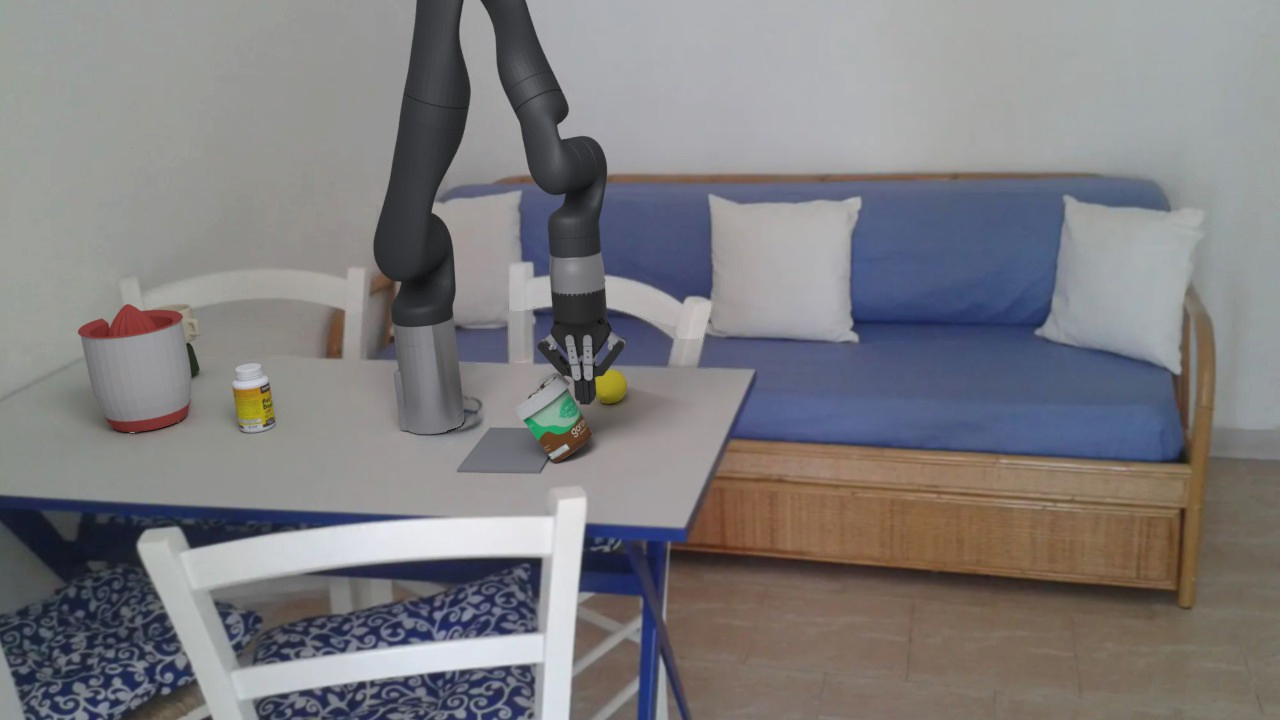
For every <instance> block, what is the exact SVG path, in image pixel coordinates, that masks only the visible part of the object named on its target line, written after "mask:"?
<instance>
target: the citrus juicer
mask: <svg viewBox="0 0 1280 720" xmlns="http://www.w3.org/2000/svg"><path fill="white" fill-rule="evenodd" d="M182 319H183V315H182V314H181V313H179V312H176V311H171V310H152V309H148V310H146V309H145V310H140V309H138V308H137V307H135V306H134V305H133V304H129V303H126V304H125V305H123V306H122V307H121V309H120V310H119V311H118V312H117V314H116V315H115V317H114V319H113V320H112V322H111V324H109V322H108V321H107V320H105V319H103V318H98V319H95V320H93V321H90V322H87V323H85V324H83V325H82V326H81V327H79V329H78V331H77V334H78V335H79V336H80V339H81V343H82V348H83V349H82V350H83V354H84V357H85V358H84V359H85V363H86V368H87V373H88V376H89V381H90V385H91V389H92V392H93V395H94V396H95V397H94V398H95V399H96V401H97V403H98V407H99V408H100V409H101V411H102V413H103V415H104V418H105V419H106V421H107V423H108V424H109V425H110V426H111V428H112V429H114V430H116V431H118V432H123V433H124V432H126V433H129V432H138V433H140V432H139V431H141V432H147V431H152V430H153V431H154V430H157V429H161V428H164V427H168V426H171V425H173V424H177V423H176V422H178V421H180V422H181V420H182V421H183V420H184V419H185V418H186V417H187V415H188V412H189V410H190V405H191V394H192V376H191V369H190V362H189V356H188V351H187V346H186V340H185V335H184V330H183V324H182ZM178 423H179V422H178Z"/></svg>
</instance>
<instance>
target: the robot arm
mask: <svg viewBox="0 0 1280 720" xmlns="http://www.w3.org/2000/svg"><path fill="white" fill-rule="evenodd" d="M464 1H465V0H416V3H415V15H414V25H413V32H412V39H411V46H410V48H411V49H410V53H409V62H408V69H407V74H406V79H405V84H404V89H403V95H402V100H401V107H400V110H399V111H400V114H399V121H398V127H397V128H398V129H397V134H396V141H395V146H394V151H393V157H392V162H391V168H390V169H391V170H390V175H389V180H388V185H387V190H386V193H385V197H384V199H383V200H384V201H383V204H382V207H381V211H380V214H379V218H378V222H377V224H376V228H375V232H374V237H373V242H372V243H373V245H372V247H373V248H372V250H373V258H374V261H375V264H376V265H377V267H378V269H379V271H380V272H381V273H382V274H383V276H384V277H385V278H387V279H389V280H391V281H393V282H398V283H400V286H399V290H398V292H397V294H396V296H395V297H394V299H393V300H392V303H391V305H390V315H391V322H392V328H393V329H392V330H393V336H394V345H395V352H396V353H395V354H396V360H397V367H398V368H397V369H396V370H395V371H394V372H393V376H394V377H393V380H394V385H395V386H394V387H395V393H396V401H397V402H396V403H397V409H398V416H399V426H400V431H407V432H409V433H413V434H417V435H436V434H442V433H447V430H450V429H453V428H454V427H456V426H458V425H460V424H461V423H463V421H464V419H465V418H464V417H465V407H464V400H463V391H462V383H461V382H462V381H461V371H460V364H459V363H460V361H459V355H458V354H459V353H458V348H457V347H458V345H457V343H458V342H457V337H456V336H457V335H456V328H455V327H456V326H455V317H454V309H453V308H454V301H455V298H456V292H457V289H456V288H457V287H456V286H457V285H456V284H457V283H456V269H455V256H454V245H453V244H454V243H453V241H452V237H451V236H452V235H451V233H450V231H449V229H448V226H447V225H446V223H445V222H444V220H443V219H442V218H441V217H440V216H438V215H437V214H435V213H433V207H434V202H435V198H436V195H437V192H438V190H439V188H440V185H441V183H442V182H443V180H444V177H445V176H446V174H447V172H448V170H449V168H450V166H451V165H452V162H453V160H454V158H455V157H456V155H457V152H458V151H459V148H460V146H461V143H462V140H463V138H464V134H465V130H466V124H467V120H468V114H469V111H470V110H469V109H470V103H471V95H472V92H471V90H472V89H471V88H472V87H471V82H470V77H469V72H468V67H467V64H466V61H465V58H464V53H463V50H462V45H461V37H460V33H461V32H460V28H461V27H460V26H461V18H462V12H463V8H464V7H463V5H464ZM479 1H480V2H481V4H482V5H483V7H484V9H485V10H486V12H487V15H488V16H489V19H490V21H491V24H492V27H493V32H494V38H495V56H496V57H495V58H496V59H495V60H496V68H497V73H498V74H497V75H498V77H499V80H500V84H501V86H502V90H503V91H504V93H505V95H506V98H507V100H508V102H509V104H510V106H511V108H512V110H513V113H514V115H515V117H516V118H517V120H518V122H519V126H520V131H521V136H522V137H521V138H522V142H523V147H524V152H525V157H526V162H527V167H528V170H529V173H530V175H531V178H532V179H533V181H534V183H535V184H536V185H537V186H538V187H539V188H540V189H541V191H543V192H544V193H546V194H549V195H553V196H559V195H560V196H561V195H564V200H563V203H562V205H561V206H560V207H559V208H558V209H557V210H555V211H553V212H552V213H551V214H550V215H549V216H548V219H547V234H548V246H549V247H548V248H549V281H550V282H549V284H550V296H551V308H552V319H553V323H552V326H551V329H550V334H549V335H548V336H546V337H543V338H542V339H541V340H540V341H539V343H538V344H537V349H538V350H539V351H540V353H541V354H542V355H543V356H544V357H545V359H546V360H547V361H548V362H549V363H550V364H551V365H552V366H553V368H554V369H555V370H556V371H557V372H558V373H559V374H560V375H562V376H564V377H569V378H571V379H572V380H573V390H574V399H575V401H577V402H579V406H580V405H581V406H582V405H584V406H585V405H588V406H590V405H591V404H592V402H593V401H594V400H595V399H596V398H597V397H596V381H595V379H596V377H598V376H603V375H604V374H605V373H606V371H607V370H610V369H609V368H611V366H612V365H613V363H614V362H615V360H616V359H617V358H618V357H619V356H620V354H621V353H622V351H623V350H624V348H625V346H626V345H627V339H626V338H625V337H620V336H618V335H617V334H616V333H614V332H612V331H613V329H612V326H611V324H610V322H609V320H608V319H609V318H608V311H607V309H608V307H607V293H606V291H607V290H606V273H605V266H604V261H603V260H604V259H603V256H602V246H601V233H600V232H601V230H600V218H601V214H602V213H601V212H602V209H603V204H604V197H605V192H606V186H607V180H608V179H607V178H608V163H607V158H606V155H605V152H604V150H603V147H602V146H601V145H600V143H599V142H598V140H596V139H594V138H593V137H591V136H586V135H578V136H572V137H568V138H563V139H562V138H561V136H560V133H559V129H558V127H559V126H558V125H559V124H561V123H562V122H564V121H565V119H566V118H567V117H568V115H569V111H570V107H569V103H568V100H567V98H566V96H565V93H564V92H563V90H562V88H561V85H560V83H559V82H558V79H557V78H556V75H555V74H554V71H553V69H552V66H551V64H550V62H549V60H548V58H547V56H546V54H545V52H544V50H543V47H542V45H541V42H540V40H539V37H538V35H537V34H538V33H537V31H536V29H535V26H534V25H535V24H534V23H533V20H532V16H531V12H530V10H529V8H528V7H529V6H528V4H527V1H526V0H479ZM607 341H608V344H607V349H608V350H609V352H608V353H607V355H606V356H605V358H603V360H602V362H601V363H600V364H597V357H598V353H599V352H600V350H602V348H603V346H604V345H605V343H606V342H607ZM558 345H559V347H560V348H561V350H563V351H564V353H565V354H567V355H568V359H567V358H566V357H565V356H564V355H563V353H562V352H560V350H559V349H558ZM465 420H466V419H465Z"/></svg>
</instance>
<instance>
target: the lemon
mask: <svg viewBox="0 0 1280 720" xmlns="http://www.w3.org/2000/svg"><path fill="white" fill-rule="evenodd" d="M595 381H596V397H595V398H597V400H598V401H600V402H601V403H603V404H607V405H611V404H615V403H618V402H619V401H621V400H622V399H623V398H624V397H625V395H626V393H627V391H628V382H627V380H626V377H625V375H624V374H623V373H622V372H620V371H619V370H616V369H608V370H607V371H606V373H605V374H604V375H603V376H598V377H595Z"/></svg>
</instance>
